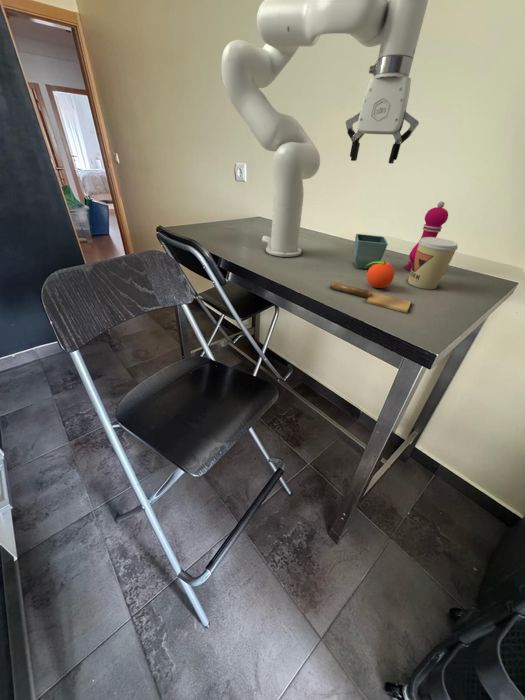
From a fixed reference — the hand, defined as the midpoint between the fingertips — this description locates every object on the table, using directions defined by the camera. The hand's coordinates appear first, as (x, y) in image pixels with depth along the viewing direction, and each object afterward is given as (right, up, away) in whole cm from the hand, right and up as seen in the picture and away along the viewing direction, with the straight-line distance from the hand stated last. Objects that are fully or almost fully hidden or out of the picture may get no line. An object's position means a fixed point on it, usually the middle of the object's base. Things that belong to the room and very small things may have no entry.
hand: (371, 162), depth 74 cm
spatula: (-2, -36, -2) cm, 36 cm away
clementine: (+3, -32, +5) cm, 32 cm away
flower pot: (+4, -22, +18) cm, 29 cm away
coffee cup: (+18, -30, +8) cm, 36 cm away
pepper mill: (+22, -23, +19) cm, 37 cm away
